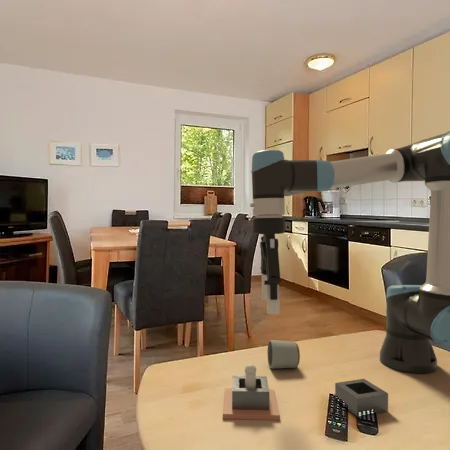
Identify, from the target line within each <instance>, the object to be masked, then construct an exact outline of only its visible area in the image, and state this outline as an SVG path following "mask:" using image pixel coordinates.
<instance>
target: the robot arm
mask: <svg viewBox="0 0 450 450" xmlns="http://www.w3.org/2000/svg"><path fill="white" fill-rule="evenodd" d="M250 173H251V185H252V186H251V187H252V203H250V204H249V207H250V208H252V215H253V217H254V216H255V218H253V219H252V233H253V234H254V235H261V237H260V240H261V241H260V242H259V248H260V257H261V258H260V273H261V301H262V302H263V301H264V302H266V315H280V314H281V312H280V311H281V310H280V307H281V303H280V297H281V295H280V284H281V281H282V280H281V279H282V278H281V270H280V269H281V268H280V257H279V239H278V238H276V235H277V234H278V235H282V234H284V233H285V232H286V227H285V225H286V224H285V223H286V221H285V220H286V219H285V218H284V217H283V216H285V214H286V212H285V211H286V208H285V204H286V203H285V201H286V199H285V197H291V196H294V195H299V194H300V195H301V194H307V193H312V192H314V193H315V192H316V193H320V192H328V191H329V190H331V189H339V188H344V187H345V188H346V187H351V186H357V185H358V186H359V185H364V184H371V183H379V182H384V181H385V182H386V181H388V182H390V183H393V184H394V183H402V182H424V186H425V187H426V188H427V189H428V190H429V191H430V202H429V203H430V205H429V223H428V224H429V225H428V239H427V241H428V242H427V257H426V258H427V259H426V260H427V261H426V275H425V276H426V279H425V282H424V283H423V284H395V285H394V284H392V285H390V286H388V288H387V290H386V295H385V300H386V308H385V309H386V310H385V313H386V317H385V318H386V321H385V322H386V323H385V324H386V325H385V326H386V331H385V337H384V340H383V341H382V345H381V348H380V351H379V361H380V362H381V363H382V364H383V365H384V366H386V367H388V368H391V369H394V370H397V371H400V372H405V373H413V374H429V373H434V372H436V371H437V370H438V360H437V355H436V353H435V351H434V350H435V349H434V347H433V343H432V341H433V342H434V343H436V344H438V345H441V346H446V347H448V348H450V130H449V131H446V132H445V133H441V134H439V135H435V136H432V137H429V138H425V139H421V140H419V141H417V142H414V143H411V144H408V145H405V146H402V147H401V146H400V147H398V148H392V149H389V150H387V151H386V152H385V153H383V154H376V155H374V154H373V155H368V156H367V155H366V156H362V157H354V158H347V159H341V160H339V159H338V160H334V161H329V160H320V159H315V160H313V159H310V160H309V159H307V160H306V159H302V160H301V159H299V160H298V159H297V160H296V159H295V160H293V159H292V160H290V159H285V155H284V152H283V151H281V150H277V149H264V150H258V151H256V152H255V153H253V155H252V157H251V171H250Z"/></svg>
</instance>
